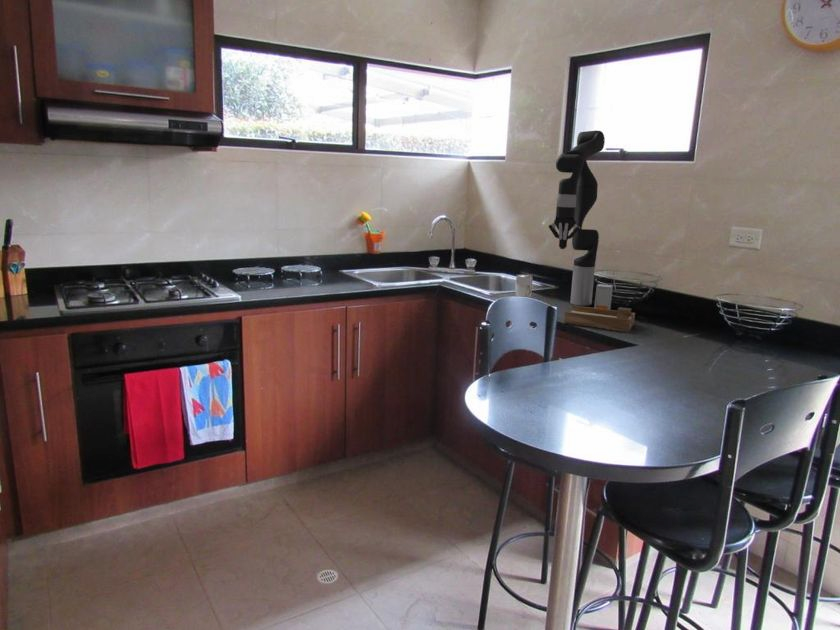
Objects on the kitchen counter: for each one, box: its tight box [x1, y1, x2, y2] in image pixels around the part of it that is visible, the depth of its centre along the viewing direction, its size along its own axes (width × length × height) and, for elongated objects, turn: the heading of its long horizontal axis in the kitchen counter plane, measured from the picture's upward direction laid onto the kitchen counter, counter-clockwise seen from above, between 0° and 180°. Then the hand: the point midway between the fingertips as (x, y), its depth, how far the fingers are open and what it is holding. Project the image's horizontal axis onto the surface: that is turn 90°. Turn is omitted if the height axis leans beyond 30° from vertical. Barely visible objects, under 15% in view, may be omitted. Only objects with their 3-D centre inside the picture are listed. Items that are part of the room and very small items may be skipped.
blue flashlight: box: [514, 274, 533, 298], centre depth 255 cm, size 7×7×15 cm
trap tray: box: [563, 304, 636, 333], centre depth 238 cm, size 14×24×4 cm, turn 64°
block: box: [616, 306, 632, 319], centre depth 236 cm, size 4×4×4 cm
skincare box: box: [593, 283, 614, 310], centre depth 256 cm, size 6×4×12 cm
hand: (562, 248), depth 250 cm, fingers closed
